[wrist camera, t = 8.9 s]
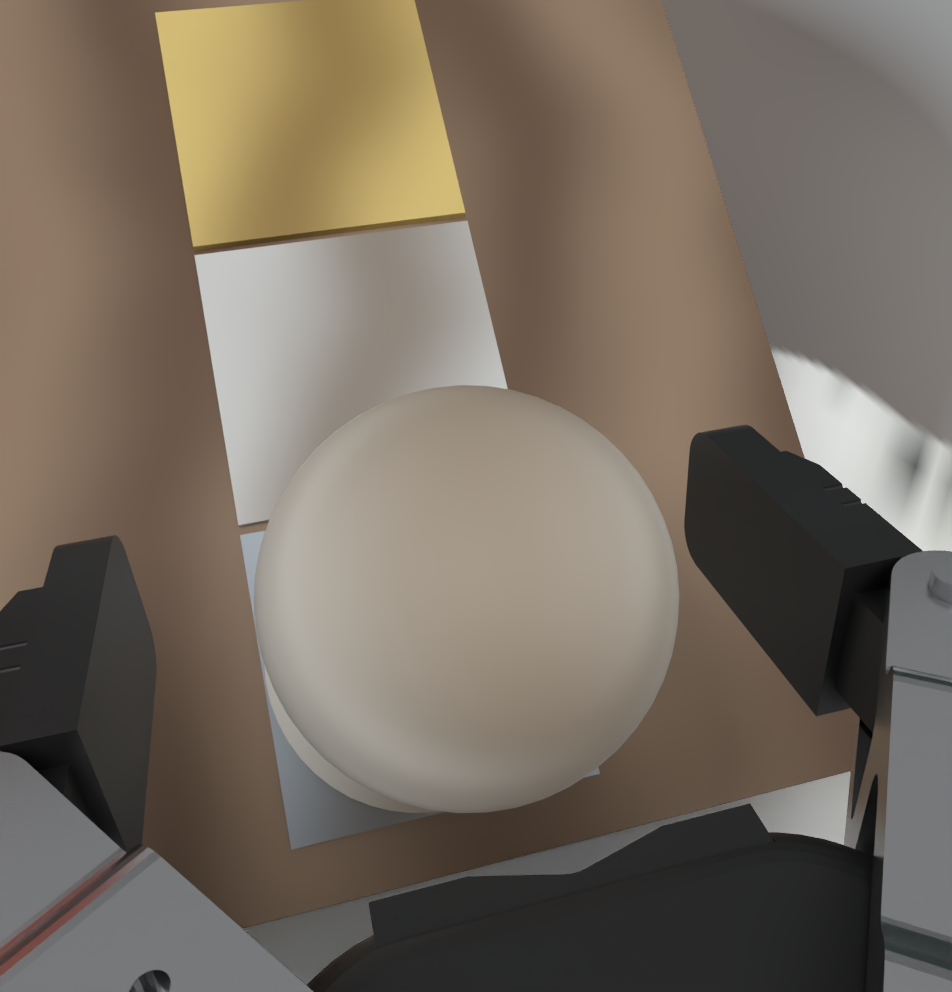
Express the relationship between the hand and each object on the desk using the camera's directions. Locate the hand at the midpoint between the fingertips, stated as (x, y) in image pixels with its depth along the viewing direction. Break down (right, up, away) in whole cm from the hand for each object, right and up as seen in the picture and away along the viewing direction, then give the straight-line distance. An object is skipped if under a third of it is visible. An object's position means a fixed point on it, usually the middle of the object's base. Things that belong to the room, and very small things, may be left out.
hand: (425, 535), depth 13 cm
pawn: (0, -2, +4) cm, 5 cm away
